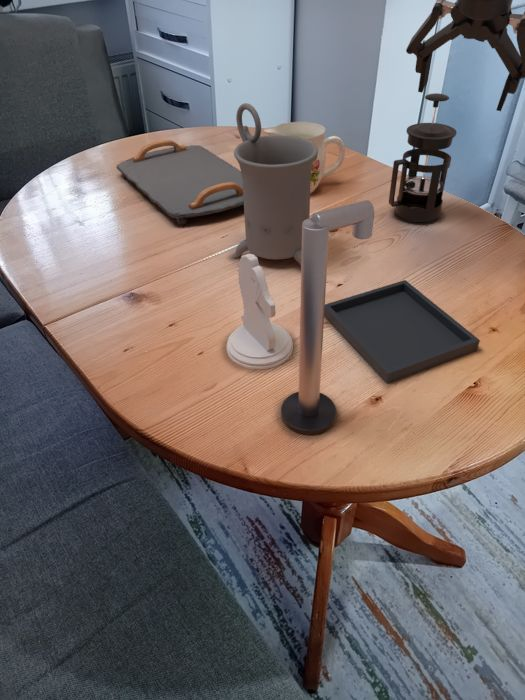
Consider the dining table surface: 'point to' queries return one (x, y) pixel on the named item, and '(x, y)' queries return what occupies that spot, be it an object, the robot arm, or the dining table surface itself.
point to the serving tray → (185, 180)
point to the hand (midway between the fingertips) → (461, 95)
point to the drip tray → (399, 330)
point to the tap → (318, 315)
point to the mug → (273, 190)
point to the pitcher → (316, 136)
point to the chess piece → (257, 323)
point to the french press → (420, 187)
